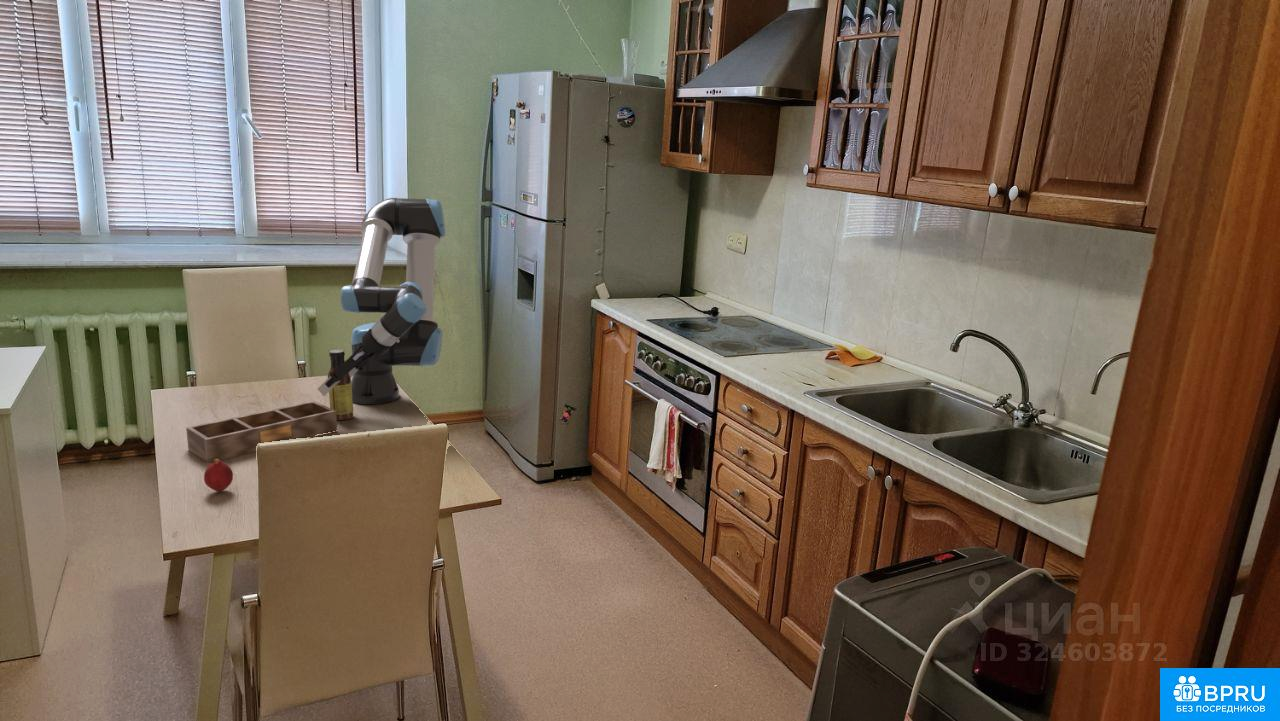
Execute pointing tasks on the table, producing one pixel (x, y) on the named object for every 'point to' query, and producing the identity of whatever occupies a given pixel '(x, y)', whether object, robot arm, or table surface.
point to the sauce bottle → (340, 389)
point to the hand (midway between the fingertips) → (330, 386)
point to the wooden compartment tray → (259, 430)
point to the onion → (218, 476)
